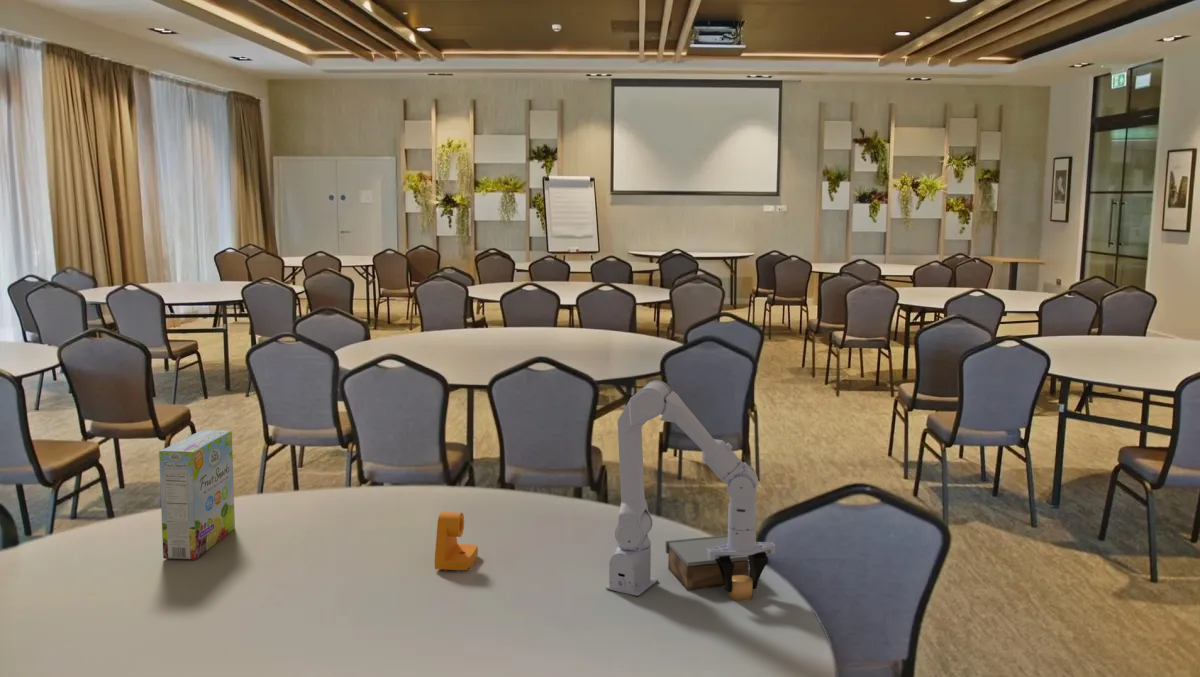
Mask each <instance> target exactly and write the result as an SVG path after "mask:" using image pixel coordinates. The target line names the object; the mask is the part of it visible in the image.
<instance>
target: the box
mask: <svg viewBox="0 0 1200 677" xmlns="http://www.w3.org/2000/svg"><path fill="white" fill-rule="evenodd" d="M667 560H668V565H667V567H668V570H669V571H670V573H672V575H673V576H674V577H675V578H676V579H677V580H678V581H679V583H680V584H681V585H682V587H683V588H684V589H685V590H686V591H691V590H692V591H693V590H700V589H709V588H718V587H720V588H721V587H724V582H723V578H722V574H721V571H720V569H719V566H718V564H717V563H715V564H705V565H696V566H687V565H686V564H685V563H684V562H683V561H682V560H681V559H680V558H679V557H678V556H677V555H676V554H675V552H674V551H673V550H672V549H671V548H670V547H669V553H668V559H667ZM732 563H733V564H734V568H733V574H732V576H733V575H745V576H749V560H743V561H733V562H732Z"/></svg>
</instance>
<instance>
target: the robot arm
mask: <svg viewBox="0 0 1200 677" xmlns="http://www.w3.org/2000/svg"><path fill="white" fill-rule="evenodd" d="M660 415H662V416H660ZM659 416H660V419H659V420H660V421H662V422H669V423H675V424H676V425H677V426H678V427H679V428H680V429H681V430H682V431H683V432H684V434H685V435H687V437H688V438H690V440H691V441H693V442H694V443H695V445H697V446H698V448H699V449H700V450H701V452H702V453H701V459H702V460H703V462H705V464H706V466H708V467H709V468H710V470H712V472H713V473H714V474H715V476H717V477H718V478H719V479H720V481H721V482H723V483H725V484H726V491H727V494H728V495H729V503H728V504H727V505H728V507H727V508H728V510H727V512H728V513H727V518H728V519H727V536H728V543H727V544H724V545H720V546H717V547H713V548H707V558H708V559H709V560H710V561H711V560H716V562H717V564H718V566H719V569H720V571H721V574H722V578H723V582H724V586H723V587H724V590H725V591H726V592H727V593H728V592H731V591H732V574H733V568H734V564H733V563H732V562H731V559H730V557H737V556H747V555H748V558H749V560H748V561H749V575H748V576H749V577H751V578H752V579H753V590H757V587H758V585H759V584H758V583H759V581H760V578H761V575H762V573H763V570H764V569H765V567H766V566H767V564H768V563H769V557H768V556H767V555H766V554H770V555H775V554H776V547H777V546H776V544H775V543H774V542H773V541H757V540H756V537H757V536H756V534H757V533H756V532H757V504H756V502H757V495H756V494H757V488H758V485H759V484H758V483H759V477H758V475H757V472H756V471H755V469H754V468H753V467H752V466H749V465H748V464H747V462H746V461H742V460H741V459H740V458H739V457H738V456H737V455H736V453H735V452H734V451H733V450H732V449H733V445H731V443H730V442H727V443H726V442H725V441H724V440H723V439H717V438H716V439H714V438H713V437H712V435H711V434H710V433H709V432H708V431H707V429H706V428H705V427H704V425H703V424H702V423H701V422H700V420H698V418H697V417H696V415H695V414H694V413H693V412H692V410H690V409H689V407H688V406H687V405H686V404H685V402H684V401H683V400H682V398H681V397H680V396H679V394H678V393H676V392H675V391H674V390H671V388H670V386H669V385H668V384H667V383H666V382H664V381H662V380H651V381H649V382H648V383H646V384H645V385H644V386H643V387H642V388H640V389H639V390H638V391H637V392H636V393H635V394H634V395H633V396H631V397H630V399H629V401H628V402H627V404H626V406H625V407H624V409H623V410H622V411H621V413H620V415H619V417H618V419H617V436H618V437H617V438H618V462H619V463H618V464H619V482H620V484H619V485H620V507H619V511H618V522H617V526H616V527H615V530H614V536H615V537H614V538H615V541H616V549H615V552H614V554H613V555H611V558H610V560H609V562H608V563H609V564H608V566H609V571H608V572H609V573H608V574H609V577H608V580H609V582H608V584H607V585H605V589H606V590H611V591H616V592H619V593H623V594H628V595H632V596H637V597H638V596H640V595H642V594H643V593H644V592H645V591H647V590H648V589H650V587H652V586H653V585H654V584H655V583H657V582H658V581H659V579H658V577H653V576H651V562H652V561H651V560H652V558H651V557H652V556H651V553H652V552H651V544H652V542H651V539H650V537H649V532H650V531H651V530H652V527H653V518H652V515H651V514H650V512H649V509H648V502H647V500H646V497H645V476H644V456H643V454H644V453H643V452H644V451H643V432H642V430H643V429H642V427H643V426H644V425H645V424H646V423H647V422H648V421H650V420H652V419H655V418H657V417H659Z"/></svg>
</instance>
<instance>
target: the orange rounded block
mask: <svg viewBox="0 0 1200 677" xmlns="http://www.w3.org/2000/svg"><path fill="white" fill-rule="evenodd" d="M753 594H754V593H753V579H752V578H751V577H749V575H748V576H745V575H733V576H732V591H731V592H727V596H728V598H730V599H732V600H735V601H741V602H742V601H743V602H744V601H749V600H751V599H752V598H753Z"/></svg>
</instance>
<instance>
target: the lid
mask: <svg viewBox="0 0 1200 677" xmlns="http://www.w3.org/2000/svg"><path fill="white" fill-rule="evenodd" d="M727 543H728V534H725V535H724V534H723V535H715V536H712V535H711V536H704V537H694V538H693V537H692V538H684V539H674V540H673V539H672V540H666V541H665V554H668V555H669V547H670V548H671V549H672V550H673V551H674V552H675V554H676V555H677V556H678V557H679V558H680V559H681V560H682V561H683V562H684V563H685V564H686V565H687V566H696V565H705V564H715V563H717V562H716V560H711V561H710V560H709V559H708V558H707V548H713V547H717V546H720V545H724V544H727ZM730 559H731V562H733V561H743V560H748V561H749V558H748V555H747V556H737V557H730Z"/></svg>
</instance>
